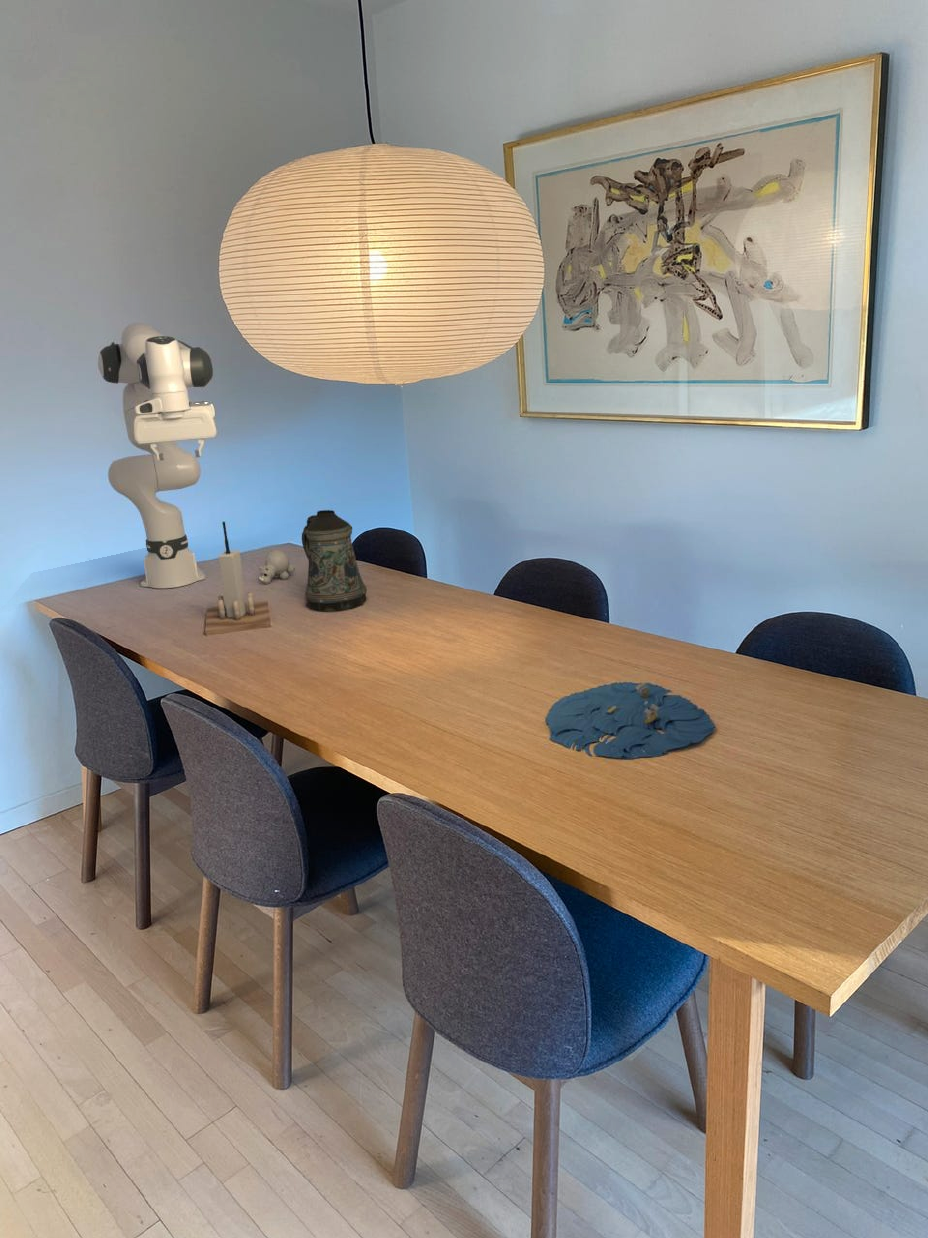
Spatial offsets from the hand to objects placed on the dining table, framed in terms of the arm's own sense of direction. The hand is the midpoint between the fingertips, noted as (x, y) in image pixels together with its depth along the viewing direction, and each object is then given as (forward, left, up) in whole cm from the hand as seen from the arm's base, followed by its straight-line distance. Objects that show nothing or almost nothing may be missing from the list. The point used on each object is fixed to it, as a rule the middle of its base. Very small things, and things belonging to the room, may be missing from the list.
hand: (180, 458), depth 229 cm
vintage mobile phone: (+12, +9, -40) cm, 43 cm away
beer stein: (+8, +34, -41) cm, 54 cm away
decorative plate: (+106, +77, -42) cm, 137 cm away
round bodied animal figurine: (-23, +20, -41) cm, 52 cm away
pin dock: (+12, +9, -41) cm, 44 cm away
